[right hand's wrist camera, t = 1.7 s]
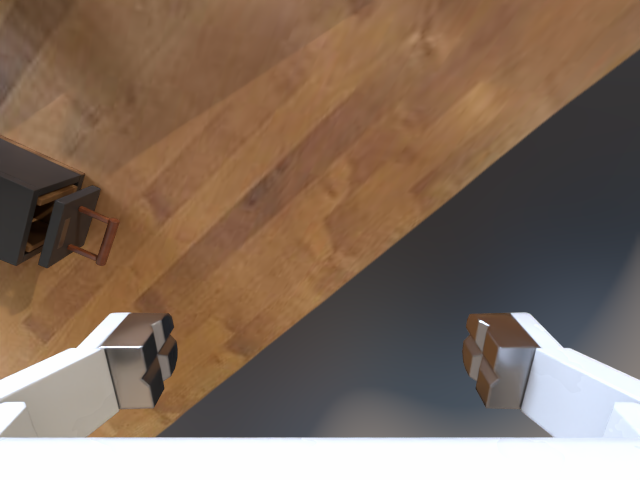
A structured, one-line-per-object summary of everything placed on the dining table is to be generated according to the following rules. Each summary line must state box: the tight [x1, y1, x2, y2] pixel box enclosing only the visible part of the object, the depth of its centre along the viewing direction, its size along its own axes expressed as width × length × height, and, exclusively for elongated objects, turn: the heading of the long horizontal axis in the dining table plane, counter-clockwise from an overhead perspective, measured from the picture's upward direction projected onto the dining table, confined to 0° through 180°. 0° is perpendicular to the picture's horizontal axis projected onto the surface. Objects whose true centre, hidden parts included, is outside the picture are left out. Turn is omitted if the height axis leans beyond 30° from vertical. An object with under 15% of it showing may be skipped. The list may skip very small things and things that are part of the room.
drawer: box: [25, 184, 120, 268], centre depth 48 cm, size 25×10×8 cm, turn 63°
